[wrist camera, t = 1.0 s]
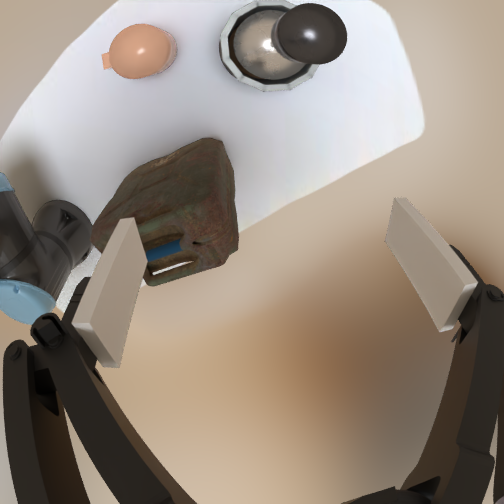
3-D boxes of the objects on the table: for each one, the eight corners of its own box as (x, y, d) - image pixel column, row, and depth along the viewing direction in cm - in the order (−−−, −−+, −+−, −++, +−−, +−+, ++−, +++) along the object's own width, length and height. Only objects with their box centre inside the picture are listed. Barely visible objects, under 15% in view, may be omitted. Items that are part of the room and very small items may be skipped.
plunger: (237, 82, 32) (246, 102, 17) (230, 13, 26) (234, -28, 12) (311, 78, 32) (379, 100, 17) (307, 11, 26) (375, -18, 12)
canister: (219, 130, 46) (214, 196, 27) (236, 173, 51) (246, 263, 32) (123, 173, 49) (66, 259, 29) (144, 209, 54) (106, 307, 34)
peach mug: (123, 82, 39) (103, 88, 32) (116, 39, 34) (95, 37, 27) (179, 69, 39) (169, 71, 32) (174, 24, 35) (162, 17, 27)
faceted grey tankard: (223, 89, 42) (222, 99, 32) (215, 15, 34) (212, 0, 24) (317, 83, 43) (346, 93, 32) (313, 12, 35) (342, -1, 24)
